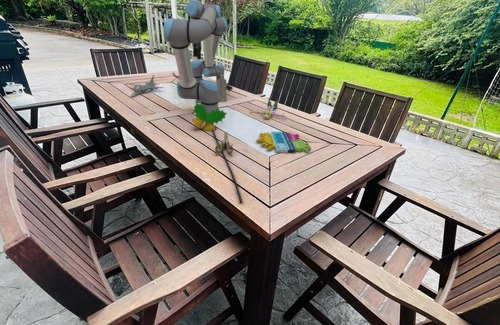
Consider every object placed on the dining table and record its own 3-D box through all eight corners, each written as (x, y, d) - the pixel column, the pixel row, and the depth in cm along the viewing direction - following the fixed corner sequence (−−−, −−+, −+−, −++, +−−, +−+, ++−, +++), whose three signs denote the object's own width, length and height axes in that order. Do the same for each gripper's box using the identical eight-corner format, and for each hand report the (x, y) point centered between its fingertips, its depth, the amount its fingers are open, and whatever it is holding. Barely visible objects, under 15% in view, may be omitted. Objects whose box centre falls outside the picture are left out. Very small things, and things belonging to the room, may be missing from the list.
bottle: (225, 102, 217) (226, 76, 206) (217, 101, 216) (217, 75, 206) (226, 99, 223) (226, 74, 213) (217, 99, 223) (217, 73, 212)
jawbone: (234, 135, 144) (233, 125, 135) (233, 160, 138) (232, 151, 129) (217, 135, 144) (216, 125, 135) (216, 160, 138) (214, 150, 129)
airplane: (124, 87, 237) (122, 75, 232) (159, 84, 250) (158, 74, 245) (128, 99, 208) (126, 87, 203) (168, 96, 222) (167, 84, 217)
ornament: (218, 133, 171) (224, 110, 169) (221, 134, 163) (227, 111, 161) (186, 125, 162) (192, 101, 160) (189, 126, 155) (195, 101, 153)
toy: (290, 101, 205) (286, 112, 179) (289, 110, 208) (285, 122, 182) (256, 97, 210) (247, 107, 184) (255, 106, 213) (246, 117, 187)
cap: (198, 101, 214) (197, 98, 213) (202, 102, 213) (202, 99, 212) (194, 102, 211) (194, 99, 210) (199, 103, 209) (199, 100, 208)
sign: (313, 150, 142) (258, 149, 139) (312, 153, 143) (258, 152, 140) (301, 132, 164) (254, 130, 161) (301, 134, 165) (254, 133, 162)
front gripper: (205, 27, 176) (206, 60, 187) (197, 25, 196) (198, 55, 206) (194, 26, 173) (195, 60, 184) (187, 24, 193) (188, 55, 204)
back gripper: (233, 88, 247) (235, 94, 229) (207, 88, 244) (206, 94, 225) (233, 80, 243) (235, 86, 225) (206, 79, 240) (206, 85, 222)
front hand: (197, 57), depth 195 cm, fingers open, 13 cm apart
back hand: (221, 90), depth 225 cm, fingers open, 13 cm apart
